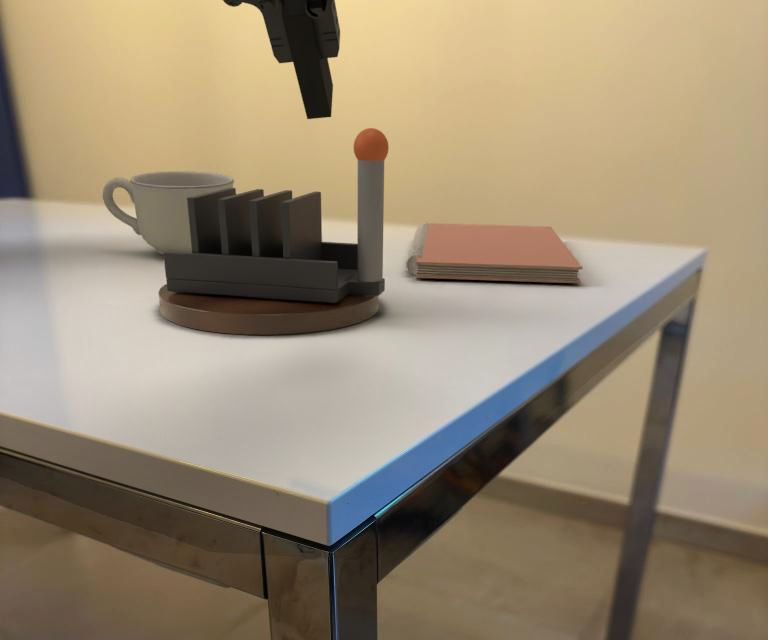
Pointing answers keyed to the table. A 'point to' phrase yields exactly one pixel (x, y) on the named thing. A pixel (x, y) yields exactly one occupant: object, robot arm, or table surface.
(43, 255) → the table surface
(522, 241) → the notebook
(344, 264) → the dish rack
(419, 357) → the table surface
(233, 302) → the turntable
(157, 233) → the teacup
